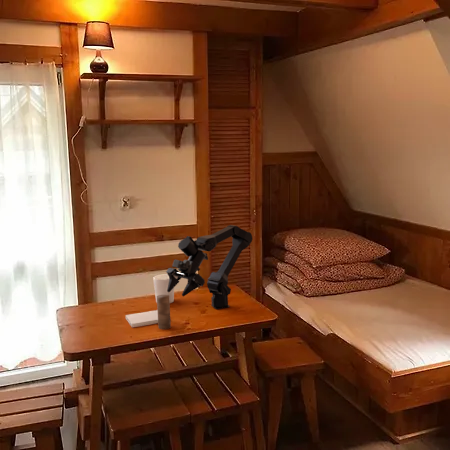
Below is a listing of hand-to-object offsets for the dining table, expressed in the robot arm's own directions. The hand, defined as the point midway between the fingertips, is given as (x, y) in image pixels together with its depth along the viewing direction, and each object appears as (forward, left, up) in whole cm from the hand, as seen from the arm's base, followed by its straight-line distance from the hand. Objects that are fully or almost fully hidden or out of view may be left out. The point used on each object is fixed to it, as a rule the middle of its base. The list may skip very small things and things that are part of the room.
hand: (175, 293), depth 220 cm
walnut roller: (+6, +3, -12) cm, 14 cm away
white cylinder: (-4, -30, -13) cm, 33 cm away
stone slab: (+10, -9, -12) cm, 19 cm away
